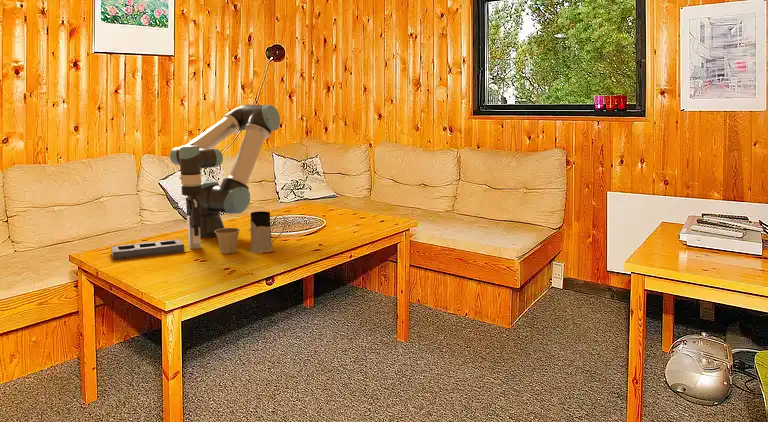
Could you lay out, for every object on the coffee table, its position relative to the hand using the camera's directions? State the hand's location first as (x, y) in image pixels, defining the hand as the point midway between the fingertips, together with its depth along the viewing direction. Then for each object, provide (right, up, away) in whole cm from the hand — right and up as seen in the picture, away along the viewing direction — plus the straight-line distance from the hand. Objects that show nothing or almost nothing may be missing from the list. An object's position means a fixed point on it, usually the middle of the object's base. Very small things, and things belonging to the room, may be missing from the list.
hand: (194, 241), depth 221 cm
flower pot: (+15, -4, -6) cm, 17 cm away
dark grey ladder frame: (-15, -4, -8) cm, 18 cm away
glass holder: (+30, -3, -2) cm, 30 cm away
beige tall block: (0, -3, 0) cm, 3 cm away
